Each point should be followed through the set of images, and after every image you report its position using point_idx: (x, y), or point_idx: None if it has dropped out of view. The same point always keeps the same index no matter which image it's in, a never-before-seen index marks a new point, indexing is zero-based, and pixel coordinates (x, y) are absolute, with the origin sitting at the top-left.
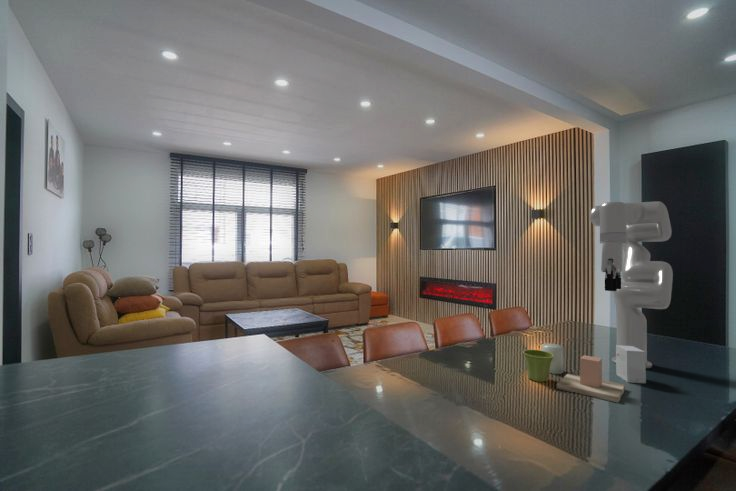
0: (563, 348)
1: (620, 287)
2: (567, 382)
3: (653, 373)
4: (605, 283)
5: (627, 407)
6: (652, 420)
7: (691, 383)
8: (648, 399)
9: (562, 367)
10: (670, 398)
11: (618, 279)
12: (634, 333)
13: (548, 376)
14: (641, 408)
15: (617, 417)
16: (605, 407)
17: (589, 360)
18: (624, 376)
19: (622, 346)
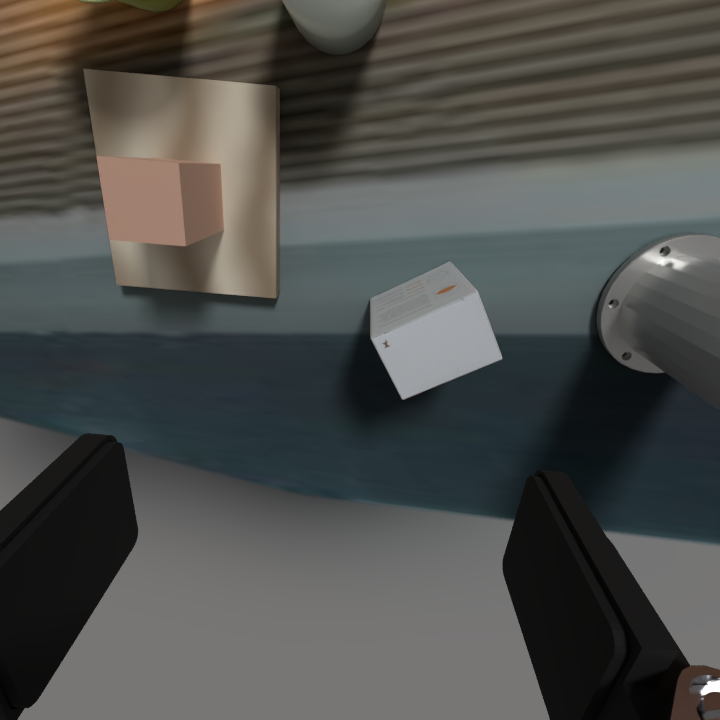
0: (335, 17)
1: (511, 585)
2: (136, 108)
3: (551, 369)
4: (10, 512)
5: (108, 304)
6: (64, 356)
7: (488, 452)
8: (230, 351)
9: (322, 45)
10: (286, 398)
11: (555, 702)
12: (712, 377)
13: (151, 8)
14: (133, 335)
15: (4, 284)
16: (52, 251)
17: (105, 200)
18: (388, 293)
19: (458, 319)
